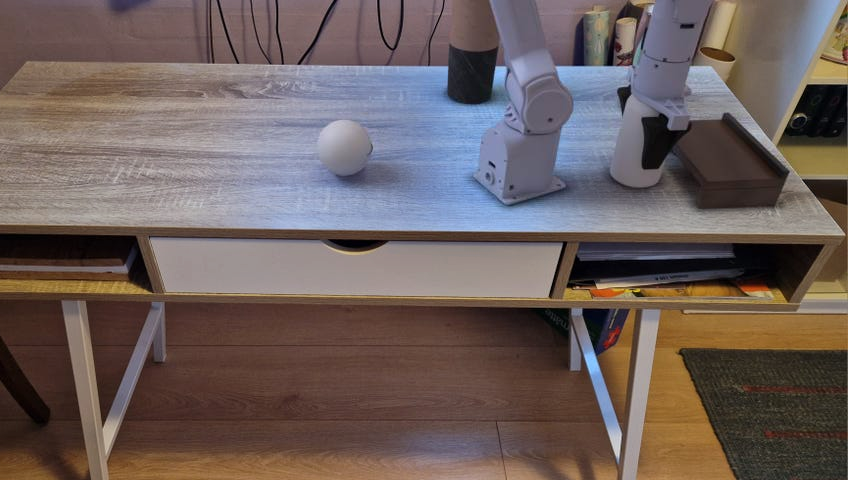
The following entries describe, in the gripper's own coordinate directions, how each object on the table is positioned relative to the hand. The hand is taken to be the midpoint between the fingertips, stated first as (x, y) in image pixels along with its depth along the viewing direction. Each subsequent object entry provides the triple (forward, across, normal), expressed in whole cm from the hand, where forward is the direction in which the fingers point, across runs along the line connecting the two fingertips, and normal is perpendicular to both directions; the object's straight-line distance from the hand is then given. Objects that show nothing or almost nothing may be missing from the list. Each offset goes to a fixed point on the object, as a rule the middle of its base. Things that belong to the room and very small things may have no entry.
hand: (640, 154), depth 92 cm
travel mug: (+4, +27, +17) cm, 32 cm away
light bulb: (0, +4, +39) cm, 39 cm away
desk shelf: (+3, 0, -10) cm, 11 cm away
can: (+4, 0, 0) cm, 4 cm away
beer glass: (+4, +20, -9) cm, 23 cm away
